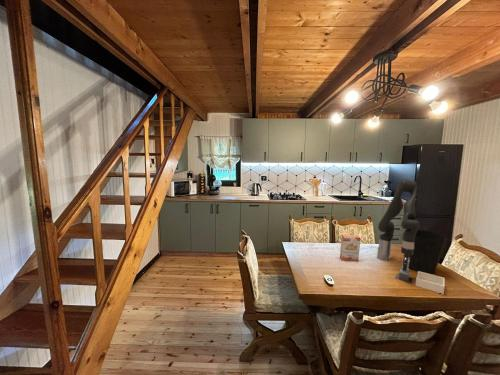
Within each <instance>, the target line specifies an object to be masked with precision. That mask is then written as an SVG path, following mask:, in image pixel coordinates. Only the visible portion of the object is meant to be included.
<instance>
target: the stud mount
mask: <svg viewBox="0 0 500 375" xmlns="http://www.w3.org/2000/svg"><path fill="white" fill-rule="evenodd" d="M394 279H395V280H399V281H401V282H405V283H409V284H412V282H413V279H414V278H413V277H411V276H409V280H408V281H406V280H402V279H399V273H396V275H395V277H394Z"/></svg>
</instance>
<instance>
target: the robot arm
mask: <svg viewBox="0 0 500 375" xmlns="http://www.w3.org/2000/svg"><path fill="white" fill-rule="evenodd" d="M417 191H418V183H417V182H416V181H414V180H410V179H401V180H400V182H399V183H398V185H397V187H396V191H395V192H394V196H393V198H392V199H391V201H390V203H389V205H388V208H387V210H386V211H385V213H384V215H383V216H382V218H381V220H380V221H379V223H378V230H379V231H380V232H382V234H380V235H379V239H378V240H379V241H378V247H377V254H376V258H377V259H379V260H383V261H390V258H391V251H392V250H391V249H392V248H391V247H392V242H393V241H392V240H393V238H394V232H395V224H394V222H393V221H392V220H393V219H395V218H396V217H397V216H399V214H401V212H402V210H403V218H402V220H401V223H400V226H401V227H402V229H403V230H406V229H408V230H409V229H410V230H411V231H410V232H405V231H403V234H402V242H401V248H400V252H401V254H403V256H402V258H403V260H402V263H403V271H406V270H407V264H408V263H409V260H410V255H413V253H414V241H415V235H416V232H417V230H420V229H419V228H420V221H418V220H416V219H412V218H415V217H416V214H417V213H416V199H417V193H418V192H417ZM403 192H404V193H409V197H408V199H407V200H406V201H405V203H404V202H403V199H402V198H403V197H402V194H403ZM407 261H408V262H407ZM404 263H406V264H404Z"/></svg>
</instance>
